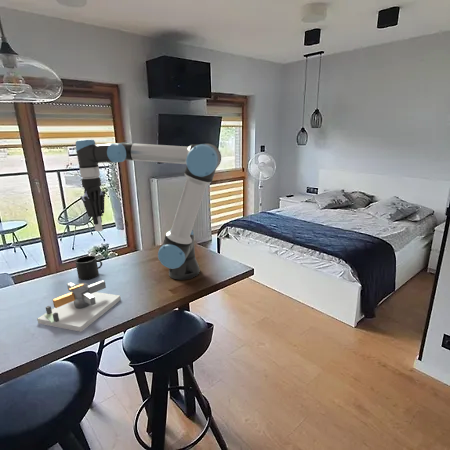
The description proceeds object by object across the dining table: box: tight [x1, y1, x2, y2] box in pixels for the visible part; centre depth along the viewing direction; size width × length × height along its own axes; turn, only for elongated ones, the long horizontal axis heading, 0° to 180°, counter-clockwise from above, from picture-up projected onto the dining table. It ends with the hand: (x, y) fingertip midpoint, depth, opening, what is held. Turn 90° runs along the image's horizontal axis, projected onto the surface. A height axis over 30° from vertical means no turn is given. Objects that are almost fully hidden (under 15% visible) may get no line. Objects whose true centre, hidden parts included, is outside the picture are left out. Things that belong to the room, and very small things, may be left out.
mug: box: [75, 255, 103, 281], centre depth 157 cm, size 9×12×9 cm
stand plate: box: [36, 291, 122, 333], centre depth 124 cm, size 20×24×5 cm
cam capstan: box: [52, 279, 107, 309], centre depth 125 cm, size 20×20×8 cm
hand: (99, 230), depth 140 cm, fingers closed
